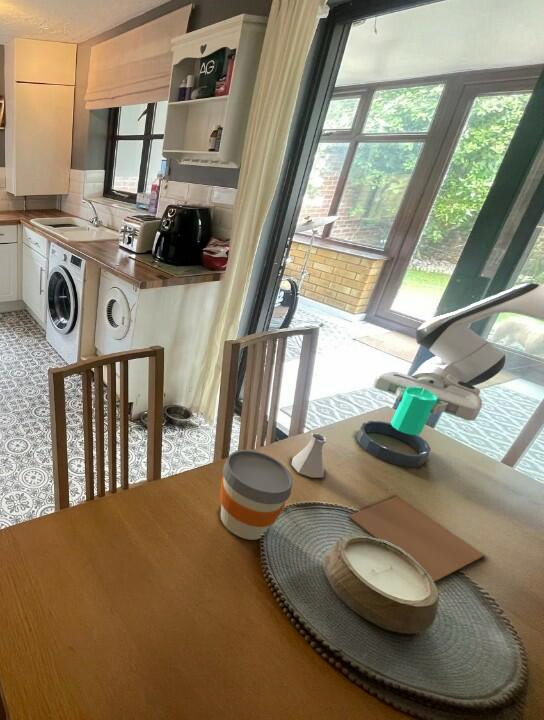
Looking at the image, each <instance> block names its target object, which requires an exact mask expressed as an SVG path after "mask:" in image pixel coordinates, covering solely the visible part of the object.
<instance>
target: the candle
mask: <svg viewBox="0 0 544 720" xmlns="http://www.w3.org/2000/svg"><path fill="white" fill-rule="evenodd" d="M437 399H438V397H437V396H436V395H434V394H433V393H431V392H430V391H428V390H426V389H425V388H421V387H408V388H407V389H406V390H405V392H404V395H403V398H402V400H401V402H400V401H399V404H398V405H397V408H396V409H395V410H396V411H395V413H394V414H393V417H392V418H391V421H390V423H391V425H392V427H394V428H395V429H397V430H398V431H401V432H403V433H405V434H410V435H419V436H420V434H421V433H422V431H423V430H424V428H425V426H426V423H427V422H428V420H429V418H430V416H431V414H432V413H430V412H431V410H432V408H433V406H434V405H435V403H436V401H437Z"/></svg>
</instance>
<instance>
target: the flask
mask: <svg viewBox="0 0 544 720" xmlns="http://www.w3.org/2000/svg"><path fill="white" fill-rule="evenodd" d="M310 437H311V439H310V440H309V442H308V444H307V445H306V446H304V448H303V449H302V450H301V451H300V452H298V453H297V454H296V455H294V456H293V457H292V461H291V466H292V467H293V468H294V469H295V471H296V472H297V473H298V474H301V475H304V476H305V477H308V478H311V479H313V478H324V474H325V469H324V459H323V447H324V444H326V443H327V438H326V437H325V436H324V434H321V433H317V432H315V433H311V436H310Z"/></svg>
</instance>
